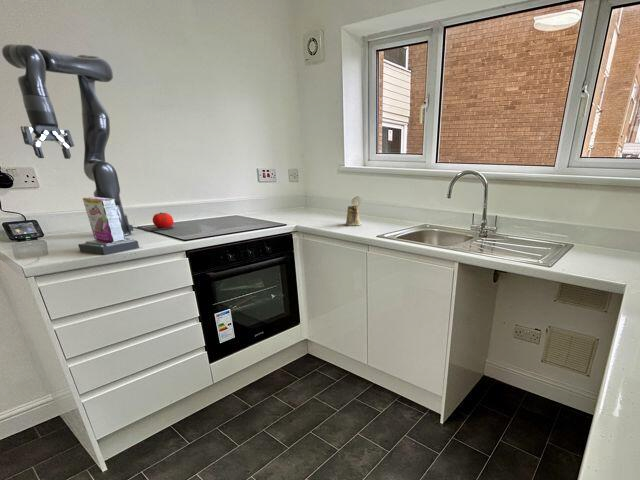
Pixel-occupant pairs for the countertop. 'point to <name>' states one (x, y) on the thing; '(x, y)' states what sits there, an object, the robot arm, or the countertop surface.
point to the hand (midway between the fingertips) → (54, 158)
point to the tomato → (163, 220)
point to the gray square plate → (108, 242)
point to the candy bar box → (104, 219)
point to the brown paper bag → (353, 213)
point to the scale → (107, 248)
